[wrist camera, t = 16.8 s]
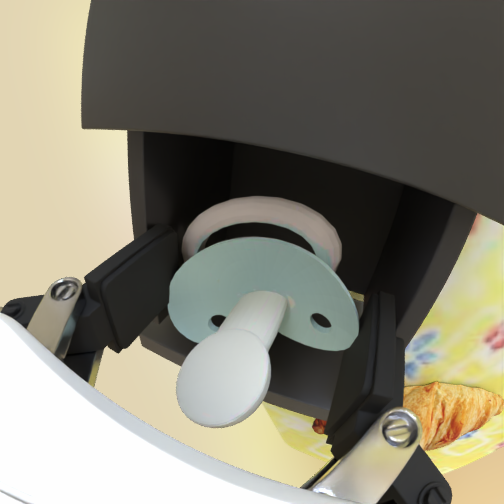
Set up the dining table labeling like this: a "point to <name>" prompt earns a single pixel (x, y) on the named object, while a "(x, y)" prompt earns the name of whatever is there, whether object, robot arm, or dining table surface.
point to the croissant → (445, 411)
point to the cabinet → (314, 83)
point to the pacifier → (253, 304)
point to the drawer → (299, 239)
